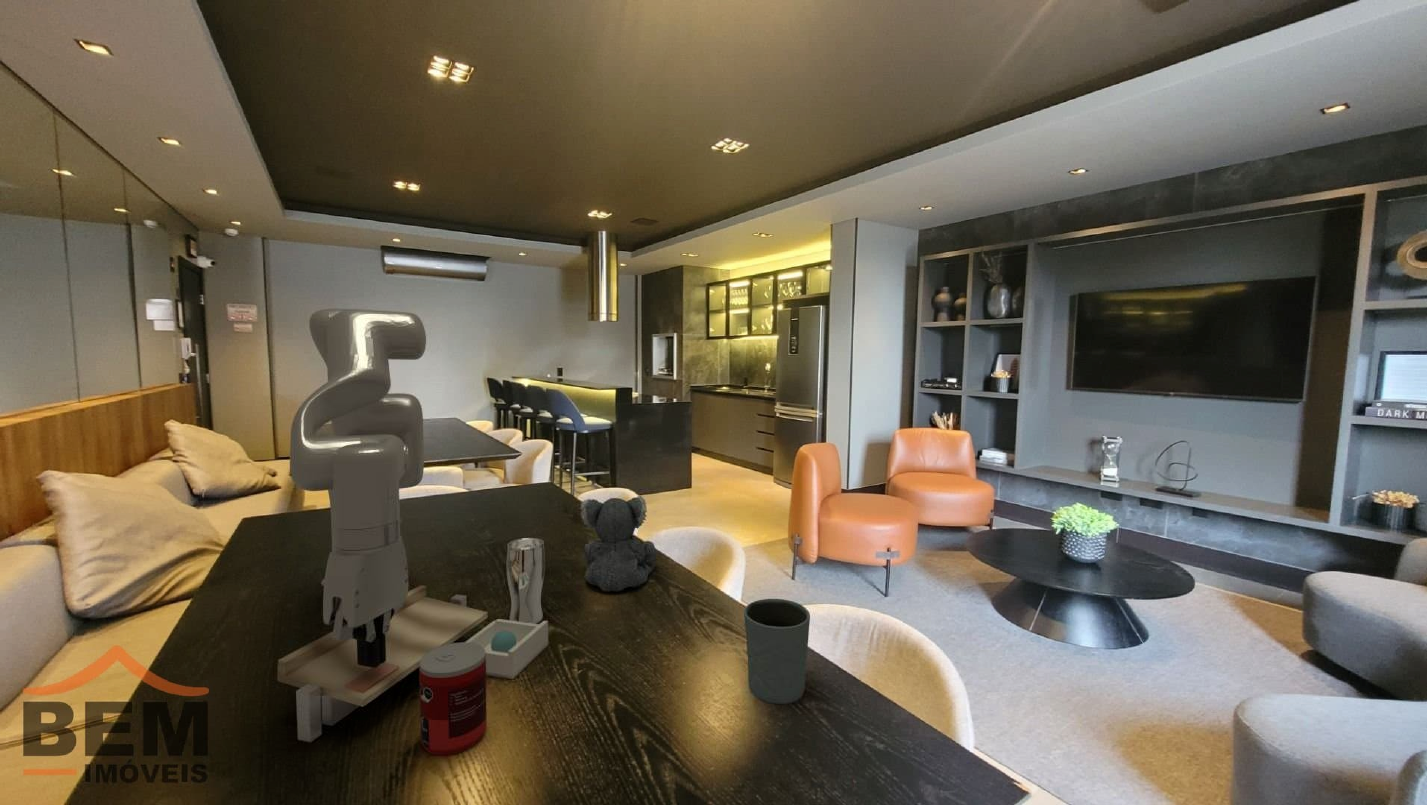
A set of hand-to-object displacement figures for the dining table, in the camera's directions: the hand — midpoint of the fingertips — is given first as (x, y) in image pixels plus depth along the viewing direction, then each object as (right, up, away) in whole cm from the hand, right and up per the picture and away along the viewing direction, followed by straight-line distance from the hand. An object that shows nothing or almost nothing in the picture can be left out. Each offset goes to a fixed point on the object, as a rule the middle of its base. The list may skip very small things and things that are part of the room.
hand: (371, 663), depth 76 cm
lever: (-2, -2, +10) cm, 10 cm away
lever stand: (-2, -7, +10) cm, 12 cm away
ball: (+12, -4, +16) cm, 20 cm away
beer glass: (+11, -6, +29) cm, 32 cm away
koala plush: (+25, -5, +50) cm, 56 cm away
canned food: (+13, -8, -4) cm, 16 cm away
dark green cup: (+57, -8, +9) cm, 58 cm away
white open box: (+12, -7, +16) cm, 21 cm away
